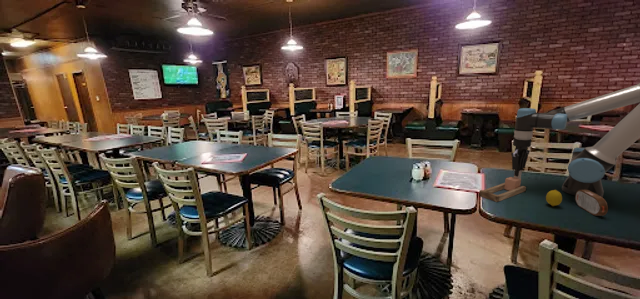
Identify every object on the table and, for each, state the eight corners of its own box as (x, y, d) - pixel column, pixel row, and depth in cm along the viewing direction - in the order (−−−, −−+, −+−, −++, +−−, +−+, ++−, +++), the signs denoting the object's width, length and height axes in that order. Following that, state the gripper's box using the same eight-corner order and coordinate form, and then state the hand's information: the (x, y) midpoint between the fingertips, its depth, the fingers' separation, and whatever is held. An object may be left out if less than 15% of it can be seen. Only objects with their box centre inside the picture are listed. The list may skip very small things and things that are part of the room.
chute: (525, 191, 140) (526, 185, 140) (497, 202, 129) (497, 196, 129) (507, 186, 148) (507, 180, 147) (478, 195, 137) (479, 190, 137)
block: (519, 190, 141) (521, 179, 140) (514, 192, 139) (515, 181, 138) (509, 187, 146) (510, 176, 144) (504, 189, 144) (505, 178, 142)
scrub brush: (606, 219, 110) (610, 200, 108) (597, 218, 110) (601, 200, 109) (580, 203, 124) (583, 186, 122) (572, 203, 125) (575, 186, 123)
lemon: (557, 209, 119) (559, 193, 117) (542, 205, 124) (544, 189, 122) (563, 206, 122) (565, 190, 120) (548, 202, 127) (551, 186, 125)
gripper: (521, 135, 144) (516, 177, 150) (507, 139, 138) (502, 181, 144) (537, 138, 137) (531, 181, 143) (523, 141, 132) (517, 186, 137)
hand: (516, 181), depth 143 cm, fingers closed
